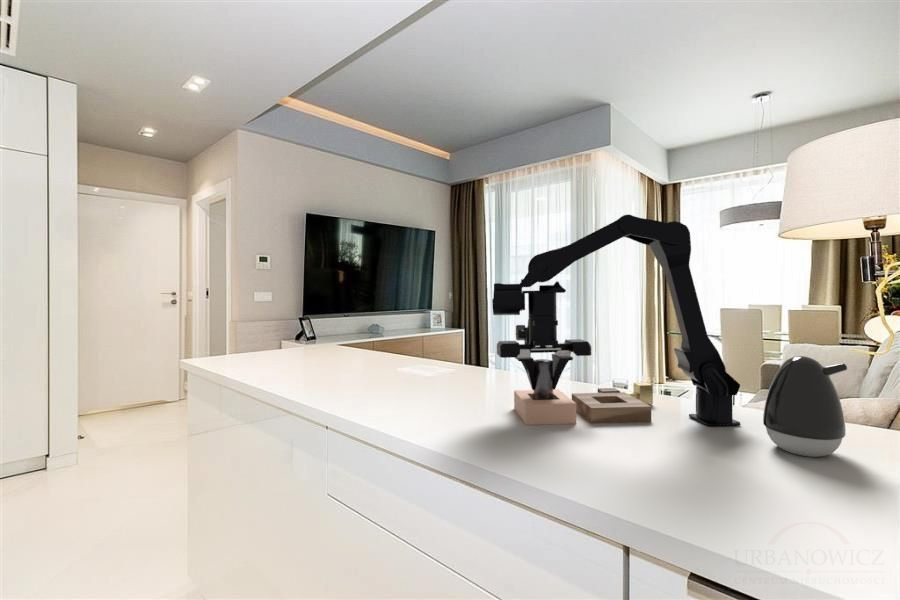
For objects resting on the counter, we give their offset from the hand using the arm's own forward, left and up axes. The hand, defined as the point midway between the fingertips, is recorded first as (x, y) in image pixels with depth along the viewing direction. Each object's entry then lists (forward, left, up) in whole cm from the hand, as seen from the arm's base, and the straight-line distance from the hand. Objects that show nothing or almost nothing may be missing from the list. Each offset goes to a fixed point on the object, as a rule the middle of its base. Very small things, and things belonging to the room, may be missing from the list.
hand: (543, 389), depth 90 cm
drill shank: (0, 0, -4) cm, 4 cm away
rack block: (0, 0, -6) cm, 6 cm away
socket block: (+1, -14, -6) cm, 15 cm away
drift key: (+7, -21, -5) cm, 23 cm away
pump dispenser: (-23, -36, -6) cm, 43 cm away
